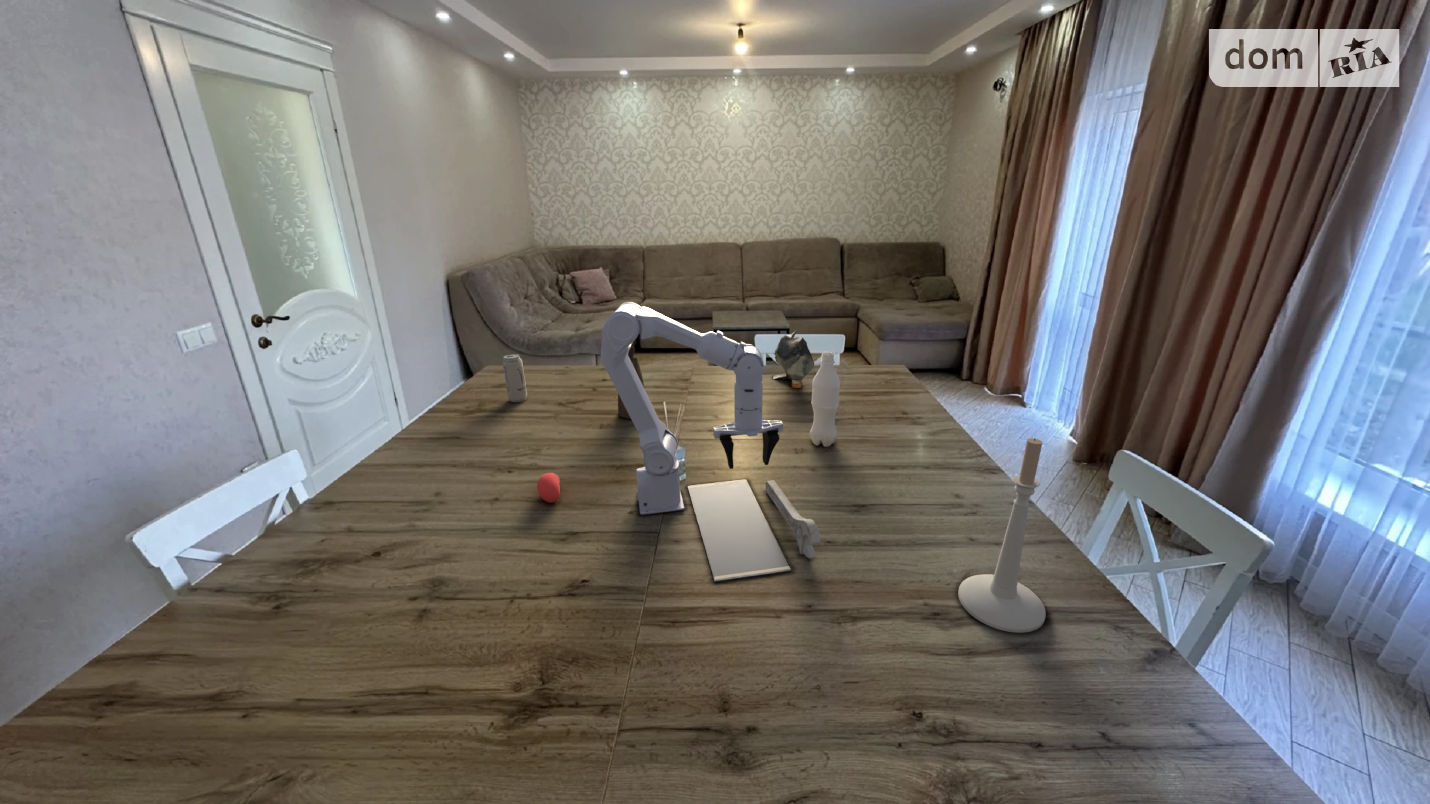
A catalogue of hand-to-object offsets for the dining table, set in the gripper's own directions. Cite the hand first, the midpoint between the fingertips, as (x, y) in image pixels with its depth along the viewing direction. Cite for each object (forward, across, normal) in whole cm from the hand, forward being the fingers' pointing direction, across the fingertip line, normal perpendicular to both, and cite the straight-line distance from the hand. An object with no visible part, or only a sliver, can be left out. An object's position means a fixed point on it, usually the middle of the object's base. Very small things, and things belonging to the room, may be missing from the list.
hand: (748, 464), depth 117 cm
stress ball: (+10, -43, +13) cm, 46 cm away
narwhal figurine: (+10, +34, +72) cm, 80 cm away
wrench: (+10, +6, -10) cm, 15 cm away
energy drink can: (+10, -59, +79) cm, 99 cm away
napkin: (+9, -5, -7) cm, 13 cm away
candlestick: (+10, +33, -39) cm, 52 cm away
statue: (+10, -22, +56) cm, 61 cm away
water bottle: (+10, +27, +25) cm, 38 cm away
